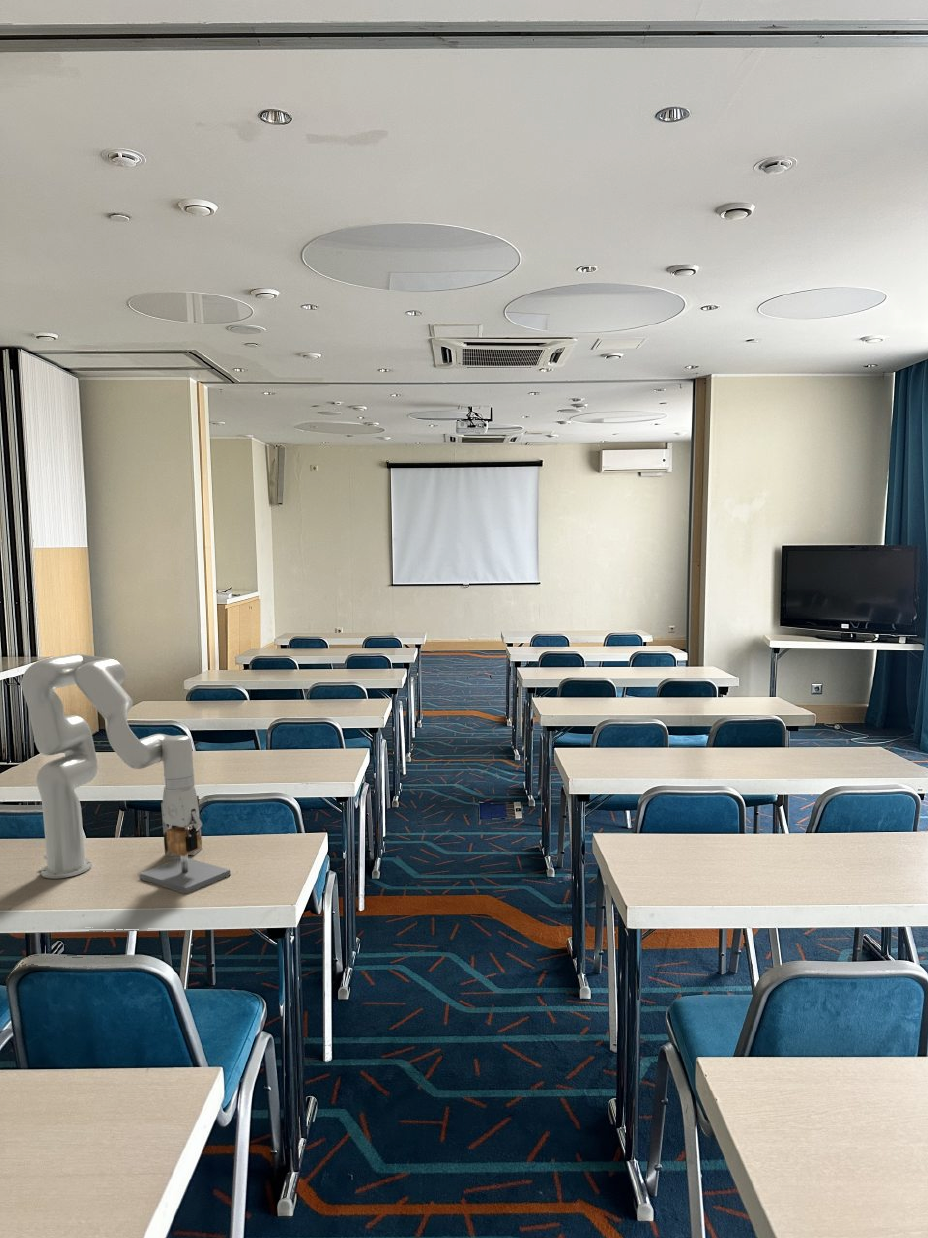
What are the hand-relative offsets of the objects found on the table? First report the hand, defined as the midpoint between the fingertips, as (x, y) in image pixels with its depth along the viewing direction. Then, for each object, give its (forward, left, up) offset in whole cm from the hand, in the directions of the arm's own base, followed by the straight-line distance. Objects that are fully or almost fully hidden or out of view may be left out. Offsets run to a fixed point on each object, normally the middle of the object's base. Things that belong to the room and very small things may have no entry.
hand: (184, 847), depth 221 cm
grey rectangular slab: (0, 0, -8) cm, 8 cm away
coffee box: (-17, +12, -8) cm, 23 cm away
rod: (0, 0, -7) cm, 7 cm away
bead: (0, 0, -1) cm, 1 cm away
